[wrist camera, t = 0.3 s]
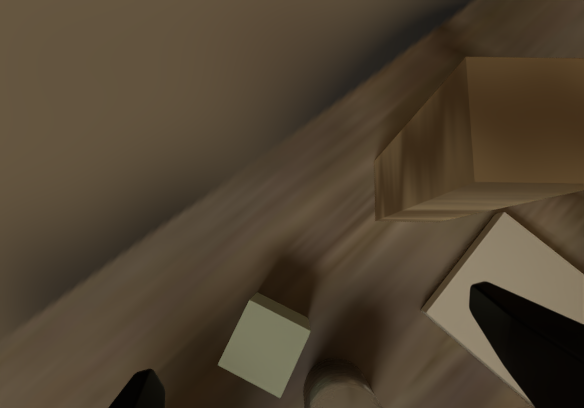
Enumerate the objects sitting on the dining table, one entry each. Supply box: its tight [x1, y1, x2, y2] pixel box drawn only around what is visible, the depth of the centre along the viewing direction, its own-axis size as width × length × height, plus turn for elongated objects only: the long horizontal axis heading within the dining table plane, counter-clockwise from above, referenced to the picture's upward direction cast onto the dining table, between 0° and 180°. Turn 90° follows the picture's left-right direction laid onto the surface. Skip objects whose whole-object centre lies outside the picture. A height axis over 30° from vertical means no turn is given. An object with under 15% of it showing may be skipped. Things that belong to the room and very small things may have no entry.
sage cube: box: [218, 292, 311, 398], centre depth 20 cm, size 4×4×4 cm
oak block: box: [374, 57, 584, 222], centre depth 17 cm, size 4×4×13 cm
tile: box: [421, 212, 584, 408], centre depth 22 cm, size 10×9×1 cm
